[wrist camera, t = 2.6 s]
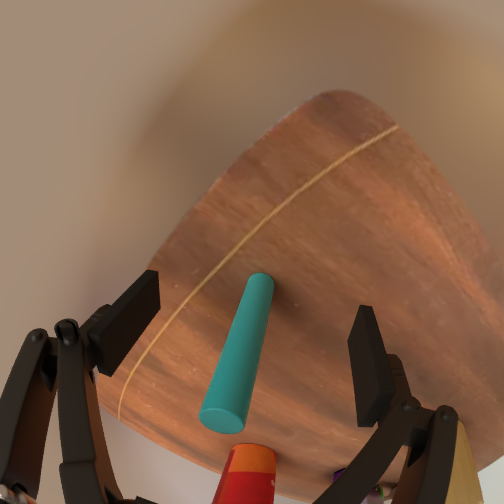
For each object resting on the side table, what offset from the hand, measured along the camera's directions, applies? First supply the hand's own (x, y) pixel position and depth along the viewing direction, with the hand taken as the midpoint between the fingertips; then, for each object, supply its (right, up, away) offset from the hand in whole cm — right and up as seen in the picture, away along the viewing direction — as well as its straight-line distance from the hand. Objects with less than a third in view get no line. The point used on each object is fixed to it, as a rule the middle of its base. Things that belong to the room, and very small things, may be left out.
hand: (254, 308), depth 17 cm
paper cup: (0, -21, +12) cm, 24 cm away
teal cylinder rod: (+1, +1, +3) cm, 3 cm away
